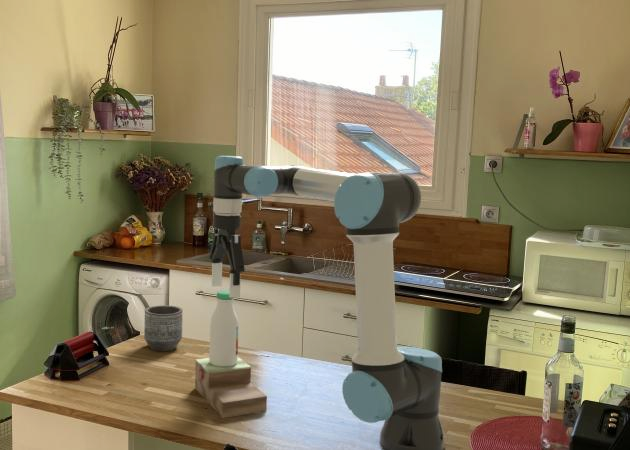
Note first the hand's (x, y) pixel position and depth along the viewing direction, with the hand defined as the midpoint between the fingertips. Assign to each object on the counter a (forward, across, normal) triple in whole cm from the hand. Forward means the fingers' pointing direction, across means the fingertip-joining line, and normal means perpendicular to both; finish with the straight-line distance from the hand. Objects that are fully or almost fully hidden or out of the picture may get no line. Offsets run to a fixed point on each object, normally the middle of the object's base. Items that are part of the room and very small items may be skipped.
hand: (225, 291), depth 192 cm
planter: (+29, +45, +4) cm, 53 cm away
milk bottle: (+20, 0, 0) cm, 20 cm away
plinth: (+29, -5, 0) cm, 29 cm away
